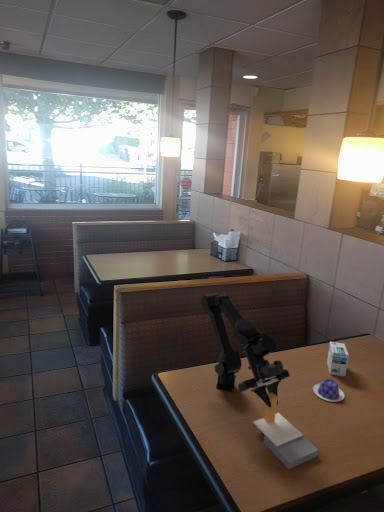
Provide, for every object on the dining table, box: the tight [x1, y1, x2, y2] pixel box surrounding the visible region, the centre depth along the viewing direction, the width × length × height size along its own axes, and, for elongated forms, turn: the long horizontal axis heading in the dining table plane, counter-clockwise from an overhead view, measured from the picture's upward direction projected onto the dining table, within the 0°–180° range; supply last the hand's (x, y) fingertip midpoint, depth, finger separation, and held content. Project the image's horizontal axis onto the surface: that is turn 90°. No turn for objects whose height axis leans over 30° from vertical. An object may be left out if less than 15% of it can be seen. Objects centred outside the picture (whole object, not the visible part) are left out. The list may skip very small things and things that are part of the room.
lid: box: [253, 392, 304, 447], centre depth 125 cm, size 12×11×10 cm
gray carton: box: [262, 435, 319, 470], centre depth 122 cm, size 12×12×2 cm
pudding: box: [312, 378, 345, 403], centre depth 152 cm, size 12×12×5 cm
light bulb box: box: [326, 341, 350, 378], centre depth 168 cm, size 11×7×11 cm, turn 169°
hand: (273, 406), depth 127 cm, fingers closed on lid, 2 cm apart
